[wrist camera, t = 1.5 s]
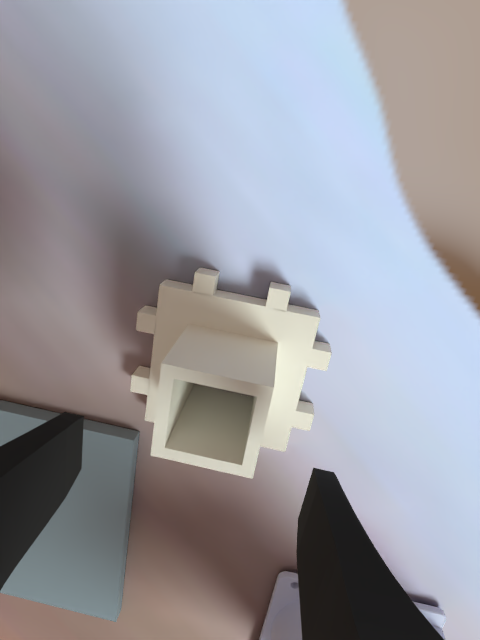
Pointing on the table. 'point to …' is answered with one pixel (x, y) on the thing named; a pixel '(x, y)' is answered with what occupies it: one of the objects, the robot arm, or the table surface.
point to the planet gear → (226, 372)
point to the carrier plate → (80, 522)
